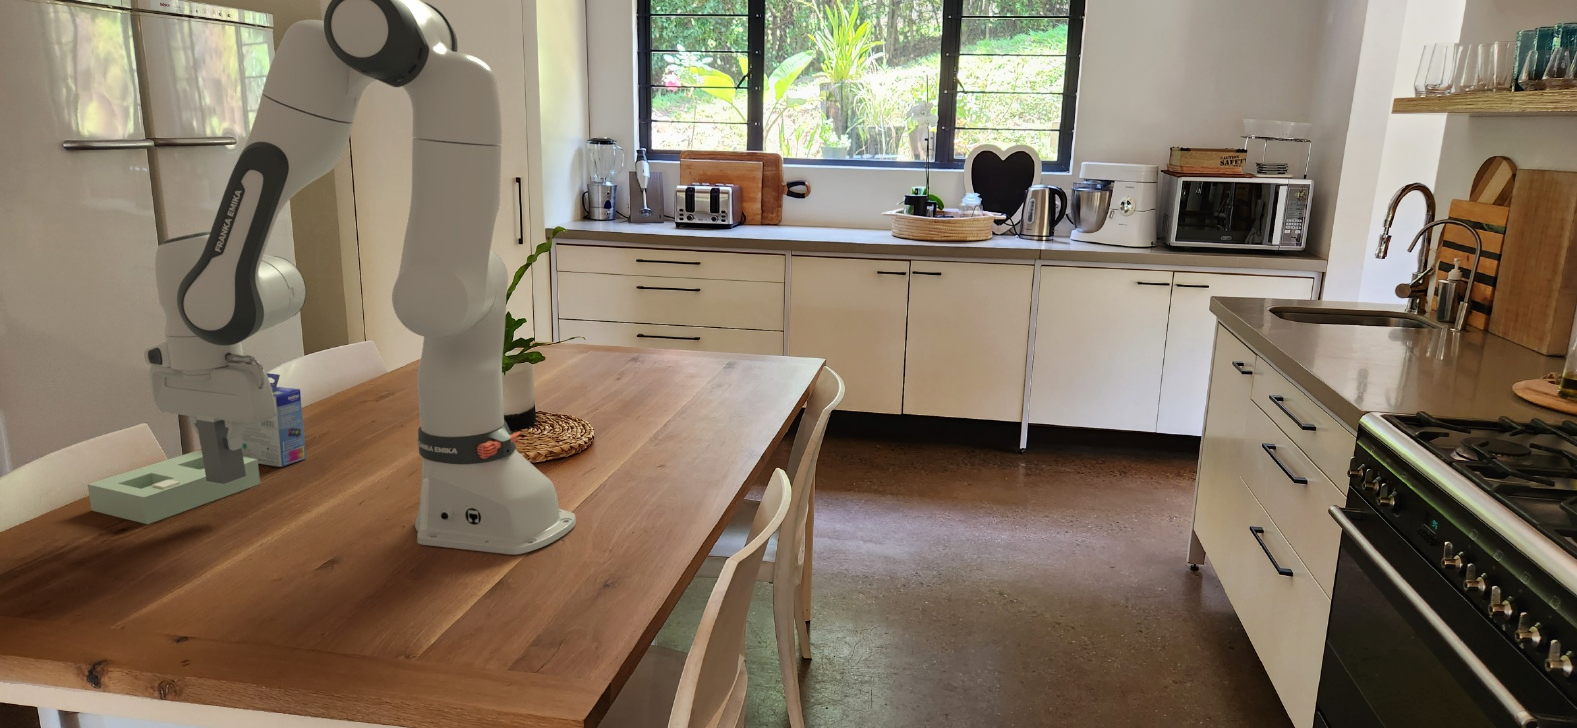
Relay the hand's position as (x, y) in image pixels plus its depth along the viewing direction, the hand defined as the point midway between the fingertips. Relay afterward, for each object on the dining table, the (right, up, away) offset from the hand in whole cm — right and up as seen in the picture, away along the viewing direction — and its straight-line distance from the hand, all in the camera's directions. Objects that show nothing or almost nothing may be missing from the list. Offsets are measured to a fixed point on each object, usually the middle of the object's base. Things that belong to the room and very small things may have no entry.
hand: (221, 447), depth 140 cm
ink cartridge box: (-6, -5, +26) cm, 27 cm away
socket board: (-11, -8, +9) cm, 16 cm away
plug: (0, -5, +1) cm, 5 cm away
